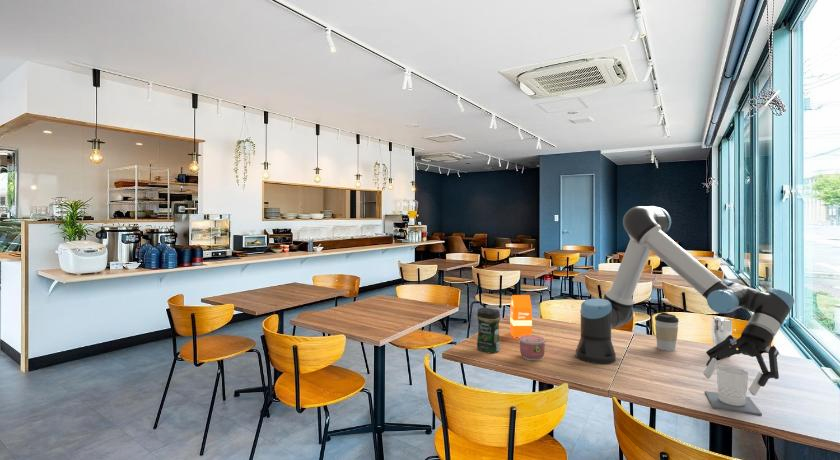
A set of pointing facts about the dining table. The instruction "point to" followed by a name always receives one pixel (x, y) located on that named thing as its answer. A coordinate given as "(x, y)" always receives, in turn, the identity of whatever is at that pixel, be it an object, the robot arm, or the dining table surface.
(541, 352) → the container
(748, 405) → the rubber mat
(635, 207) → the robot arm
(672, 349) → the coffee cup
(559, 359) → the dining table surface
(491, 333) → the coffee jar
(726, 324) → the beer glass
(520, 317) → the orange juice
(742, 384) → the white cup
